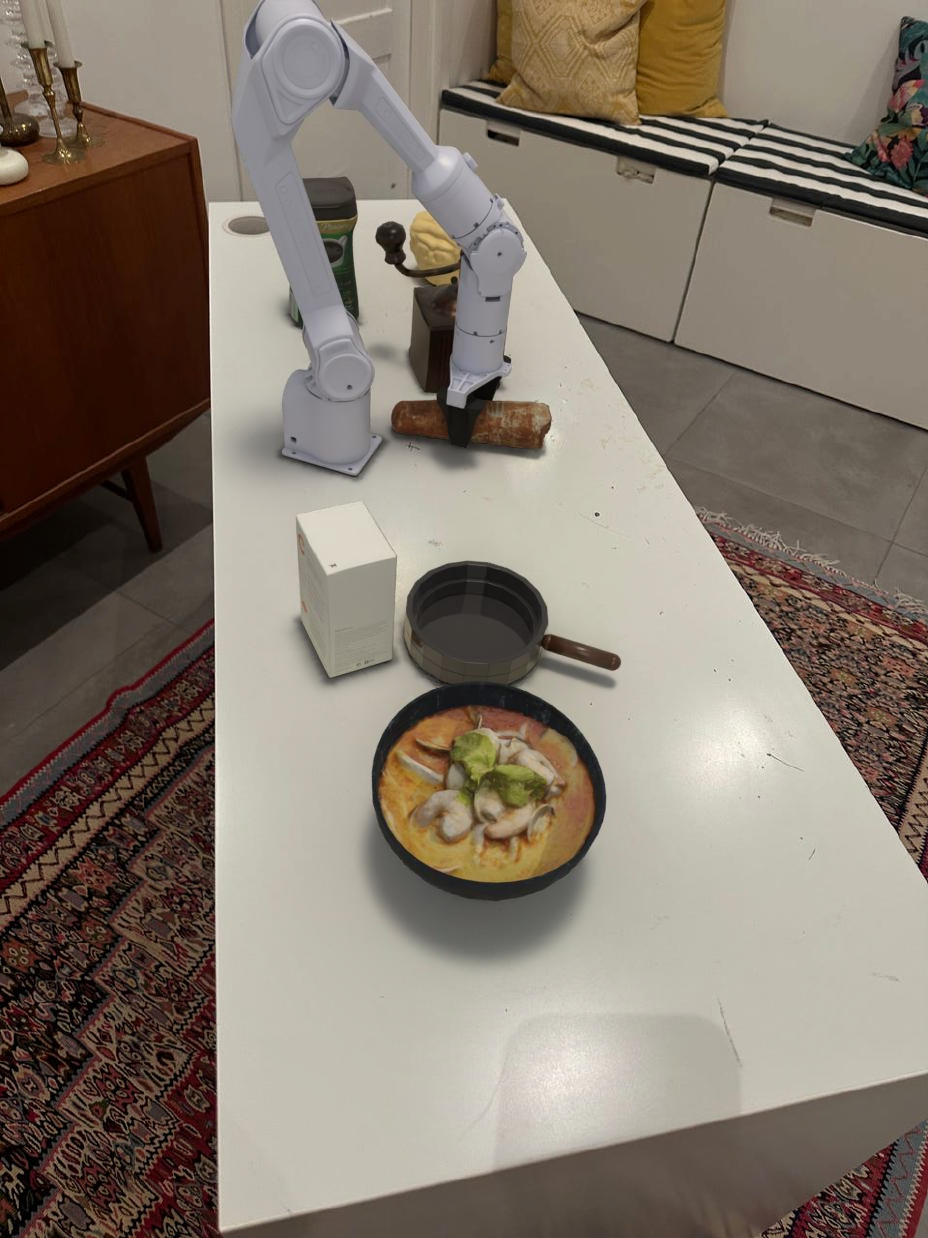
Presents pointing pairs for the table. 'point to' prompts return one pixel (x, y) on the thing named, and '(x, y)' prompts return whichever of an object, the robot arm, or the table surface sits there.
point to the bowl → (487, 790)
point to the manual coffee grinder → (426, 312)
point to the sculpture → (433, 247)
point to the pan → (475, 623)
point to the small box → (346, 587)
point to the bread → (479, 422)
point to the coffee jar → (334, 235)
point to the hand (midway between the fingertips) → (469, 428)
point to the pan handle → (581, 652)
